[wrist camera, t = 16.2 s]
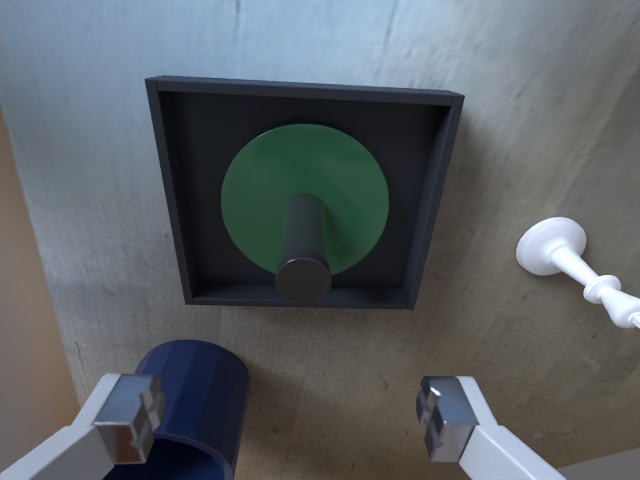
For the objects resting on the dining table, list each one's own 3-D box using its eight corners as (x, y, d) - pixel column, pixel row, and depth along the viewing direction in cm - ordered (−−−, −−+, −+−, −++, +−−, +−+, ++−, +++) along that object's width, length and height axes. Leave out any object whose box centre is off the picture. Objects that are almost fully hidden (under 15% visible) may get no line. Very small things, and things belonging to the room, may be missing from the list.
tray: (195, 283, 28) (185, 304, 25) (162, 75, 20) (143, 78, 18) (405, 289, 28) (414, 310, 26) (448, 90, 21) (465, 95, 19)
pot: (151, 412, 35) (108, 508, 28) (128, 338, 30) (69, 432, 23) (252, 413, 36) (237, 508, 28) (247, 340, 31) (226, 433, 23)
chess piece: (583, 208, 25) (729, 293, 16) (579, 262, 27) (705, 361, 19) (514, 227, 26) (619, 318, 17) (516, 278, 28) (609, 381, 19)
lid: (230, 269, 26) (196, 364, 18) (216, 116, 21) (158, 157, 13) (375, 273, 27) (402, 367, 19) (398, 124, 21) (450, 169, 13)
